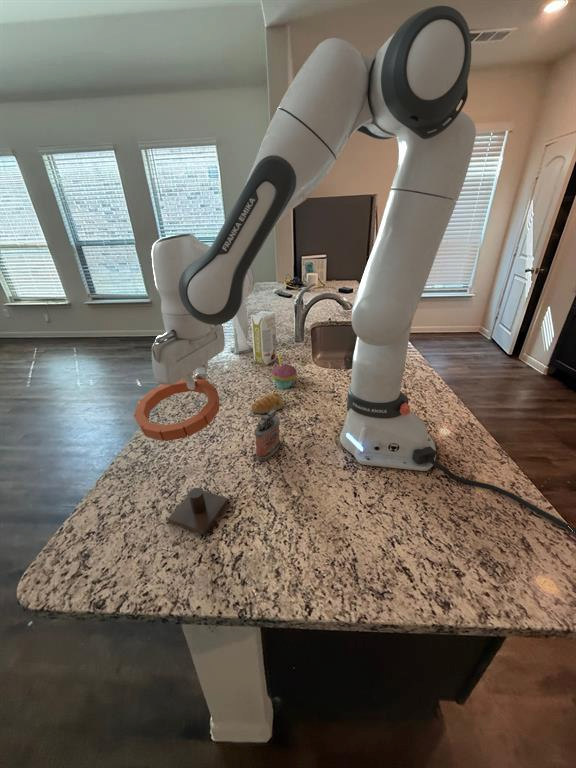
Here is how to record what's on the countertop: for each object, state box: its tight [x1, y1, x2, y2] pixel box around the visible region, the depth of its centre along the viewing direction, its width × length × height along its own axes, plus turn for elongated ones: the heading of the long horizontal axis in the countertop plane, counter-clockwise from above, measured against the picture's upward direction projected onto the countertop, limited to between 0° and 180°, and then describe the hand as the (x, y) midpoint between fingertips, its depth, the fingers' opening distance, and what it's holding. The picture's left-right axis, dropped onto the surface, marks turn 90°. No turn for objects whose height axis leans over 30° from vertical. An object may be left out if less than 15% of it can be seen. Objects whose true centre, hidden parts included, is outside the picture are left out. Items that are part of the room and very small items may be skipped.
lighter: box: [253, 410, 281, 462], centre depth 73 cm, size 8×3×10 cm, turn 148°
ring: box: [133, 377, 220, 442], centre depth 64 cm, size 16×16×2 cm
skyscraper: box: [230, 300, 253, 355], centre depth 130 cm, size 8×8×28 cm
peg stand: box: [167, 487, 229, 536], centre depth 59 cm, size 8×8×5 cm
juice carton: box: [250, 310, 278, 366], centre depth 120 cm, size 8×9×19 cm
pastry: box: [251, 391, 285, 415], centre depth 92 cm, size 9×7×4 cm
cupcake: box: [270, 351, 298, 389], centre depth 103 cm, size 9×8×12 cm
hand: (197, 384), depth 69 cm, fingers closed on ring, 2 cm apart
